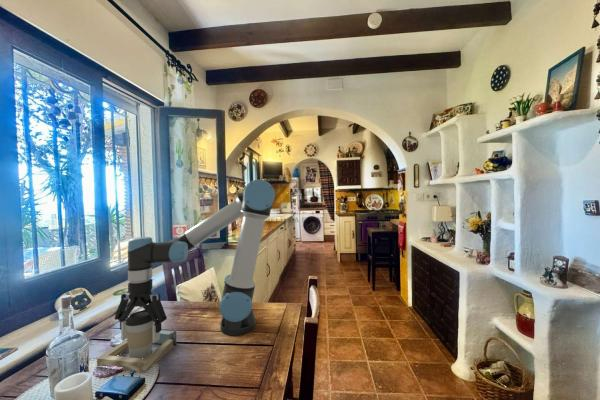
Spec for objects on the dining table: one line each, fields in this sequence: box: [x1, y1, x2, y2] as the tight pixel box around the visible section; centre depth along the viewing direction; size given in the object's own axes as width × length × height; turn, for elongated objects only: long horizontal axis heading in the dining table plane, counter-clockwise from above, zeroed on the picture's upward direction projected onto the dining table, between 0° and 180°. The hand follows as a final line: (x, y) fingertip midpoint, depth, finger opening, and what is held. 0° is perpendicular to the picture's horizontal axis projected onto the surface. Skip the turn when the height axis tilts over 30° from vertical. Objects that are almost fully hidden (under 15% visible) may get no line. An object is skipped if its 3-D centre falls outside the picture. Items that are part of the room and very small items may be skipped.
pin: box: [171, 330, 177, 347], centre depth 97 cm, size 2×2×5 cm
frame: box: [96, 338, 174, 373], centre depth 91 cm, size 18×17×3 cm
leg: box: [152, 330, 172, 345], centre depth 99 cm, size 13×2×4 cm, turn 77°
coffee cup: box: [125, 309, 154, 359], centre depth 91 cm, size 9×9×15 cm
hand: (140, 339), depth 91 cm, fingers open, 12 cm apart
